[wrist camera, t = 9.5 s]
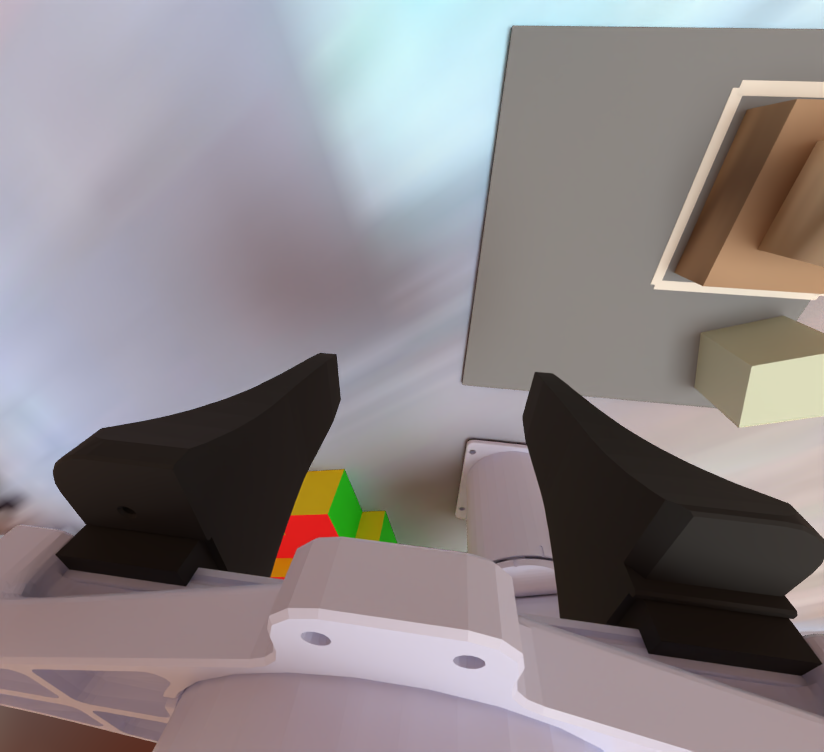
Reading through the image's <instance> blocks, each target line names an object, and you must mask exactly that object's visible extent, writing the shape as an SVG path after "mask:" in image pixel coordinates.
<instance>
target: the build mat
mask: <svg viewBox="0 0 824 752" xmlns="http://www.w3.org/2000/svg"><path fill="white" fill-rule="evenodd" d="M795 99H818V100H824V29H757V28H672V27H587V26H513V27H512V31H511V38H510V45H509V52H508V59H507V67H506V74H505V81H504V88H503V95H502V102H501V109H500V116H499V124H498V131H497V138H496V145H495V152H494V159H493V166H492V174H491V181H490V188H489V195H488V202H487V209H486V216H485V224H484V231H483V238H482V245H481V252H480V259H479V266H478V274H477V281H476V288H475V295H474V302H473V309H472V316H471V323H470V331H469V338H468V345H467V352H466V359H465V366H464V373H463V381H462V385H468V386H479V387H490V388H501V389H512V390H523V391H530V388H531V384H532V380H533V377H534V373H535V372H544V373H553V374H554V375H556V376H557V377H559V378H560V379H561V380H563V381H564V382H565V383H566V384H568V385H569V386H570V387H571V388H572V389H574V390H575V391H576V392H577V393H579V394H580V395H581V396H588V397H599V398H610V399H621V400H632V401H643V402H653V403H664V404H675V405H686V406H697V407H708V408H716V407H715V406H714V405H713V404H712V403H711V402H710V401H709V400H708V399H706V398H705V397H704V396H703V395H702V394H701V393H700V392H699V391H698V390H697V389H695V388H694V386H695V378H696V369H697V361H698V352H699V344H700V335H701V333H702V332H706V331H711V330H716V329H721V328H726V327H731V326H736V325H741V324H746V323H750V322H755V321H760V320H765V319H770V318H775V317H780V316H786V317H788V318H790V319H792V320H795V321H797V319H798V318H799V316H800V315H801V314H802V312H803V311H804V309H805V308H806V306H807V305H808V303H809V302H810V301H811V300H816V299H817V297H818V296H824V294H813V293H798V292H783V291H768V290H753V289H738V288H722V287H707V286H701V285H699V284H697V283H695V282H693V281H691V280H688V279H686V278H684V277H682V276H680V275H678V274H676V273H674V272H675V269H676V267H677V265H678V263H679V260H680V258H681V256H682V254H683V252H684V249H685V247H686V245H687V243H688V240H689V238H690V236H691V234H692V231H693V229H694V227H695V225H696V223H697V220H698V218H699V216H700V214H701V211H702V209H703V207H704V205H705V202H706V200H707V198H708V196H709V194H710V191H711V189H712V187H713V185H714V182H715V180H716V178H717V176H718V173H719V171H720V169H721V167H722V165H723V162H724V160H725V158H726V156H727V153H728V151H729V149H730V147H731V145H732V142H733V140H734V138H735V136H736V133H737V131H738V129H739V127H740V124H741V122H742V120H743V118H744V116H745V113H746V111H747V109H752V108H757V107H761V106H766V105H771V104H776V103H780V102H785V101H790V100H795Z"/></svg>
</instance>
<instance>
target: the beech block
mask: <svg viewBox="0 0 824 752" xmlns="http://www.w3.org/2000/svg"><path fill="white" fill-rule="evenodd" d="M757 250H761V251H765V252H768V253H772V254H776V255H780V256H784V257H787V258H791V259H795V260H799V261H803V262H807V263H810V264H814V265H818V266H822V267H824V141H817V143H816V145H815V147H814V148H813V150H812V152H811V154H810V156H809V157H808V159H807V161H806V163H805V165H804V167H803V168H802V170H801V172H800V174H799V176H798V177H797V179H796V181H795V183H794V185H793V186H792V188H791V190H790V192H789V194H788V195H787V197H786V199H785V201H784V203H783V204H782V206H781V208H780V210H779V212H778V213H777V215H776V217H775V219H774V221H773V222H772V224H771V226H770V228H769V230H768V231H767V233H766V235H765V237H764V239H763V240H762V242H761V244H760V246H759V248H758V249H757Z"/></svg>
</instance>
